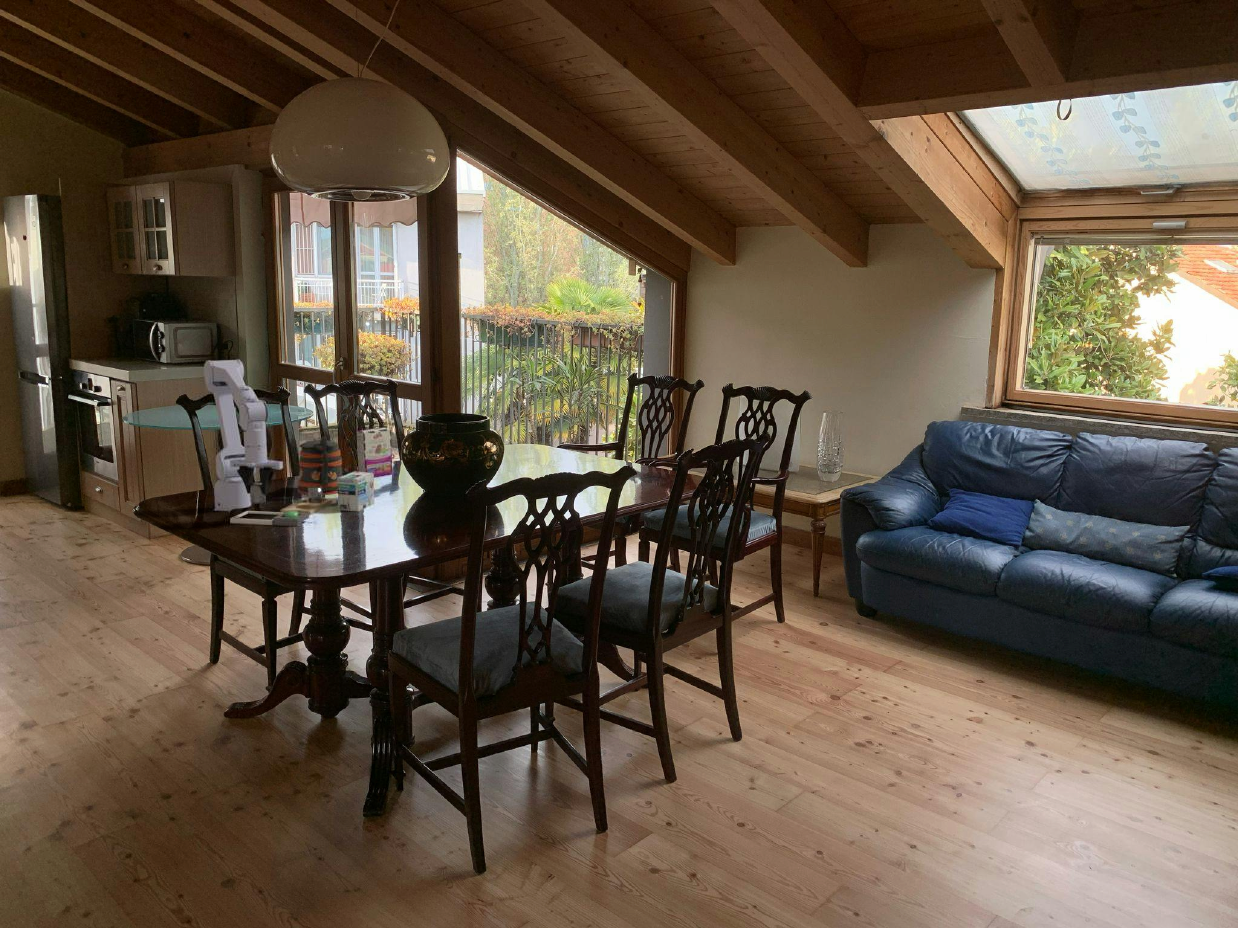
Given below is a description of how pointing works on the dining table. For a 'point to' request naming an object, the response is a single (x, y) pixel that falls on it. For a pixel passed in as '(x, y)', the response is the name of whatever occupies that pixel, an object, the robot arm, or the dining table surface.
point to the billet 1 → (257, 493)
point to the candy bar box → (375, 451)
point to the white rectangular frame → (253, 521)
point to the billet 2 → (315, 494)
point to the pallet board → (308, 506)
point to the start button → (291, 514)
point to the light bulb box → (355, 491)
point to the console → (290, 519)
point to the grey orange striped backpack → (319, 466)
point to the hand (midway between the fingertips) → (257, 493)
